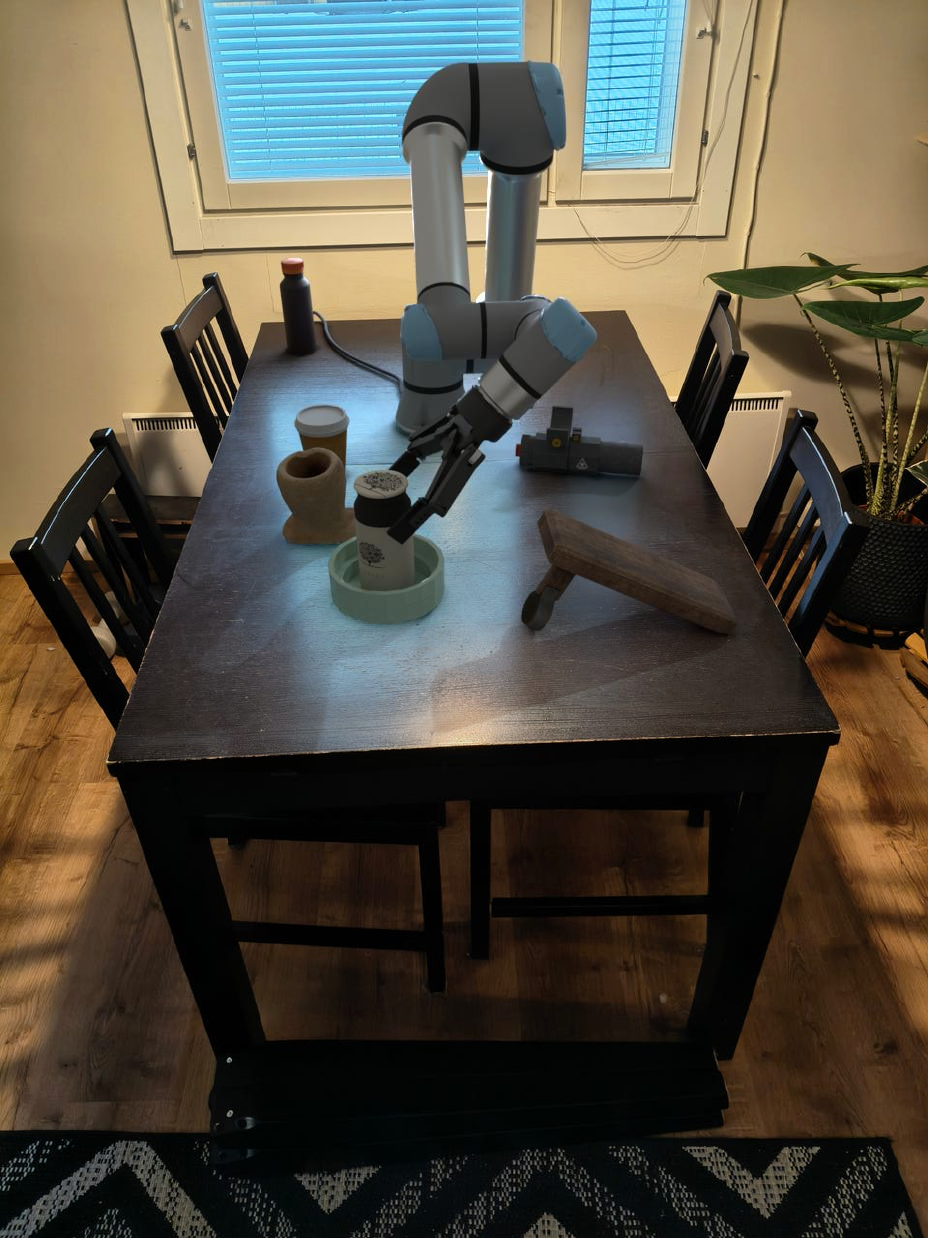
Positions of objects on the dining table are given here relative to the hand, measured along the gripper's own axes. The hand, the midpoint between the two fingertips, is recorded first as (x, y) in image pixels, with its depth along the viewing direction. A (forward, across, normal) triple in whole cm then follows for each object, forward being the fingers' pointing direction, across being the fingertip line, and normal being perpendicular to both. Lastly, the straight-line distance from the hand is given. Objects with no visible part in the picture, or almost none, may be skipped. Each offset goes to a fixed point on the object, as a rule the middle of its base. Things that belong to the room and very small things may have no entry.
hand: (388, 512), depth 127 cm
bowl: (+10, 0, -9) cm, 14 cm away
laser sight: (-16, +32, -36) cm, 51 cm away
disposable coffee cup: (+15, +38, -5) cm, 41 cm away
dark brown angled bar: (-12, -13, -32) cm, 37 cm away
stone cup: (+16, +17, -4) cm, 24 cm away
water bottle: (+17, +101, -4) cm, 103 cm away
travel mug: (+10, 0, -9) cm, 13 cm away
